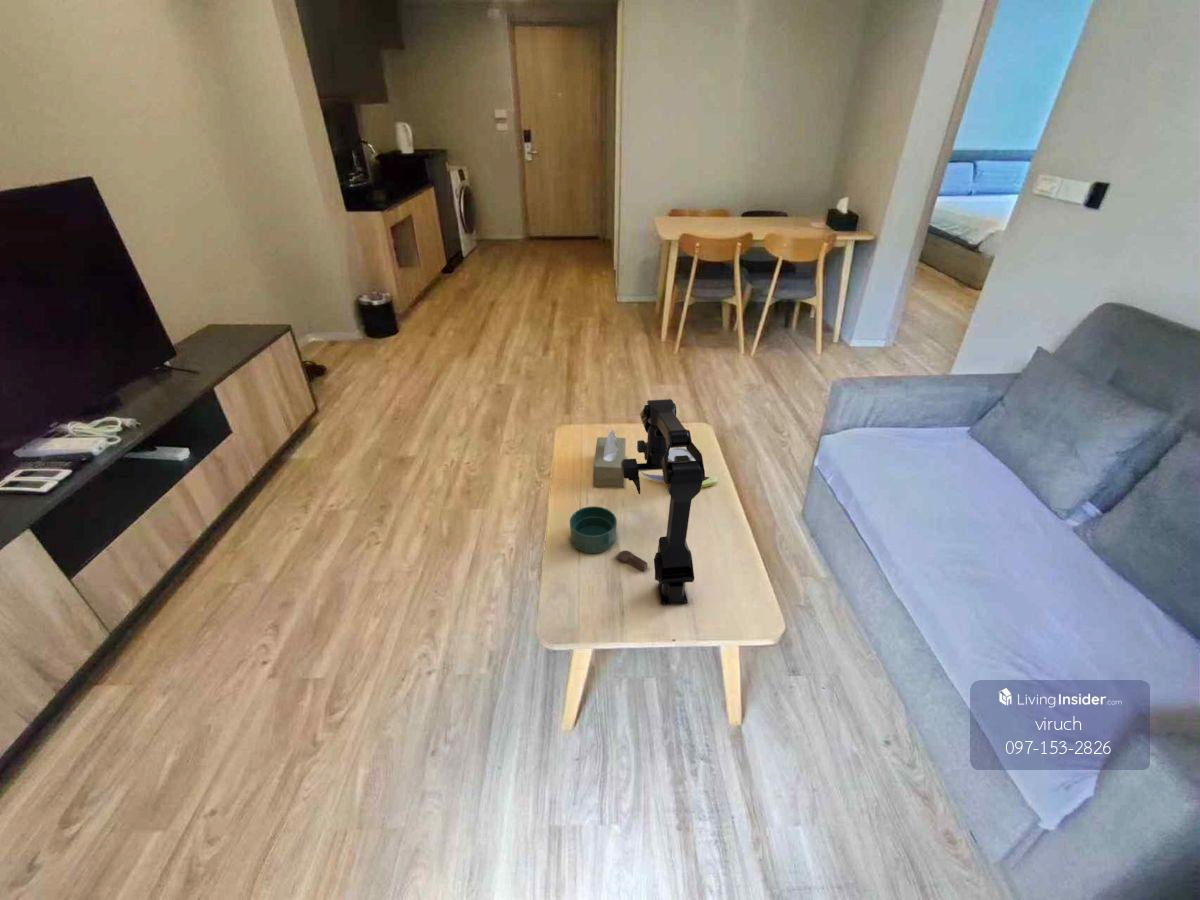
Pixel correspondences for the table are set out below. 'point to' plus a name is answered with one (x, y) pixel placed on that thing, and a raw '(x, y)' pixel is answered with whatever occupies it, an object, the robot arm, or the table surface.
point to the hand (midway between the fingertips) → (655, 492)
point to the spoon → (632, 560)
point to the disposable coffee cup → (679, 453)
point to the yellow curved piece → (706, 482)
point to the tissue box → (609, 461)
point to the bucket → (593, 529)
